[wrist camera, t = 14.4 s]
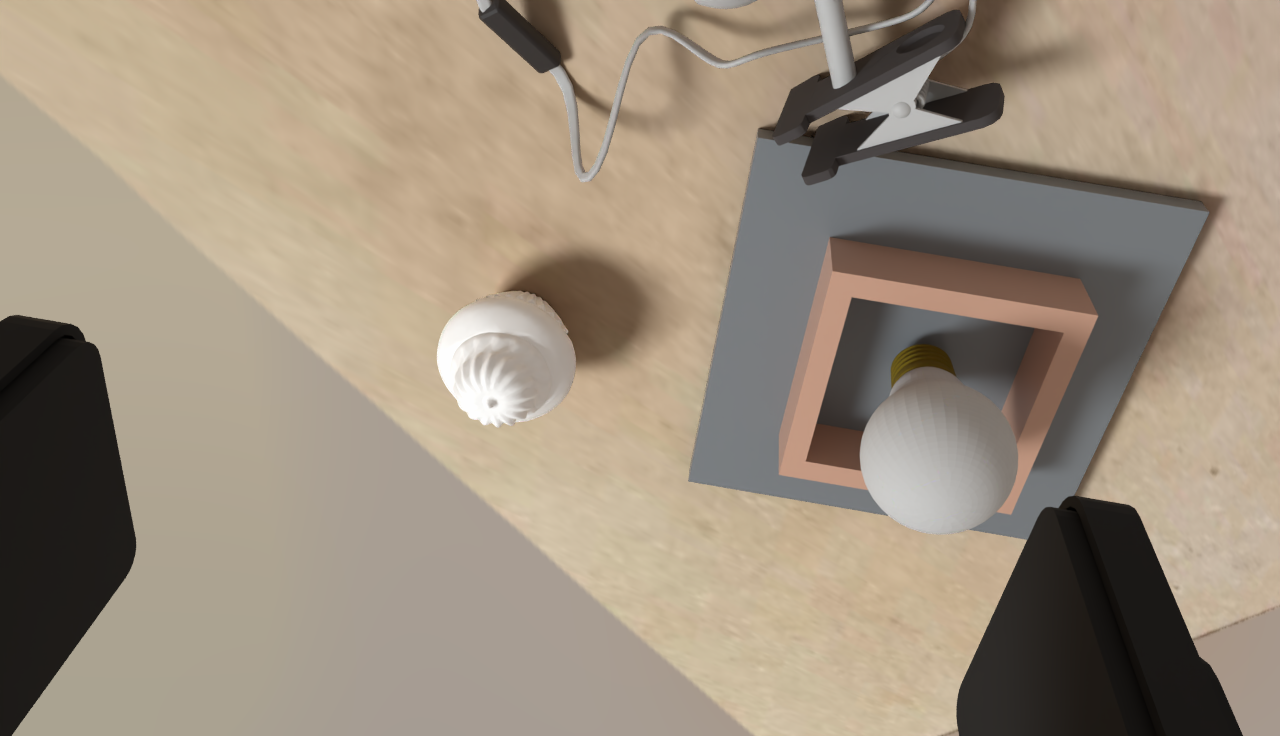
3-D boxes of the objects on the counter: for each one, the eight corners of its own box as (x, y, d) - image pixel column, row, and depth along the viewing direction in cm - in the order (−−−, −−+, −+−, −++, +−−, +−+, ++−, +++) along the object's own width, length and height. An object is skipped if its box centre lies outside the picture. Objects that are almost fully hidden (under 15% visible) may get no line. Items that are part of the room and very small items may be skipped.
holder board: (758, 128, 43) (756, 167, 39) (1201, 201, 42) (1236, 246, 39) (689, 468, 53) (683, 522, 49) (1046, 530, 52) (1064, 587, 49)
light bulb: (1017, 357, 46) (1067, 508, 38) (915, 434, 49) (940, 590, 40) (924, 275, 44) (954, 414, 36) (823, 360, 47) (830, 507, 39)
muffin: (565, 250, 47) (535, 332, 41) (604, 363, 50) (581, 454, 44) (438, 275, 48) (391, 358, 42) (483, 384, 51) (445, 475, 45)
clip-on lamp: (589, 159, 47) (1010, 100, 40) (539, 238, 43) (1001, 189, 36) (489, -107, 41) (974, -238, 33) (417, -45, 36) (958, -180, 29)
